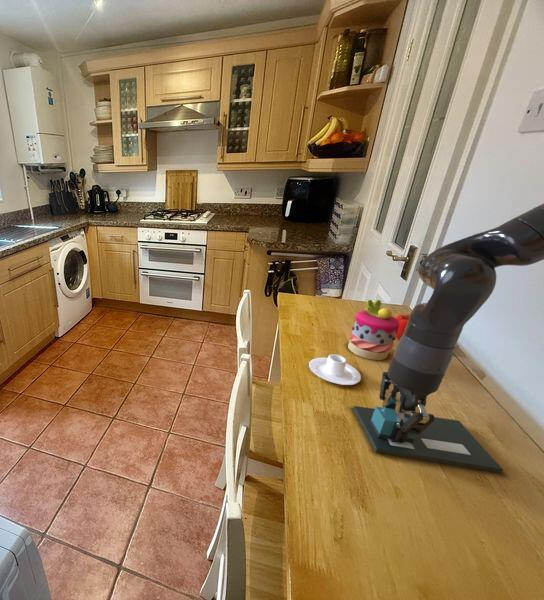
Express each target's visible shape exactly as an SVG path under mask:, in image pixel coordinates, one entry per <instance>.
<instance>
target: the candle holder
mask: <svg viewBox="0 0 544 600" xmlns="http://www.w3.org/2000/svg"><path fill="white" fill-rule="evenodd" d="M347 361H348V360H347V359H346V358H345V357H344V356H342V355H340V354H336V353H335V354H329V355H328V356H327V357H315V358H313V359H311V360H310V361H309V363H308V366H309V369H310V370H311V372H312V373H313V374H315V376H318V377H319V378H320V379H322V380H325V381H327V382H330V383H333V384H337V385H341V386H353V385H356V384H359V383H360V382H361V380H362V376H361V373H360V372H359V370H357V369H356V368H355V367H354V366H352V365H351V364H349V363H347Z"/></svg>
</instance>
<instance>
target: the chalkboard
mask: <svg viewBox="0 0 544 600" xmlns="http://www.w3.org/2000/svg"><path fill="white" fill-rule="evenodd" d="M352 410H353V412H354V415H355V416H356V418H357V420H358V422H359V424H360V426H361V428H362V429H363V432H364V433H365V435H366V437H367V439H368V441H369V443H370V445H371V448H373V450H374V453H377V454H384V455H390V456H395V457H396V456H397V457H402V458H409V459H414V460H420V461H426V462H431V463H437V464H443V465H449V466H456V467H462V468H467V469H473V470H480V471H487V472H492V473H498V474H501V473H502V472H503V470H504V469H503V468H502V467H501V465H500V464H499V463H498V462H497V461H496V460H495V459H494V458H493V457H492V455H491V454H490V453H489V452H488V451H487V449H485V447H484V446H483V445H482V444H481V443H480V442H479V441H478V440H477V439H476V438H475V436H473V434H472V433H470V431H469V430H468V429H467V428H466V426H464V424H462V423H461V421H460V420H457V419H452V418H451V419H450V418H443V417H436V416H434V418H435V420H434V421H433V422H432V423H431V424H430V425H429V426H428V427H427V428H426V429H425V430H424V431H423V432H422V433H421V434H420V435H417V434H416V436H415V439H414V441H413V443H410V442H404V443H396V442H392V441H391V440H390V439H384V438H378V436H377V435H376V433H375V431H374V429H373V428H372V426H371V424H370V422H371V419H372V416H373V413H374V410H375V408H374V407H373V408H372V407H365V406H357V405H353V407H352Z"/></svg>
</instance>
